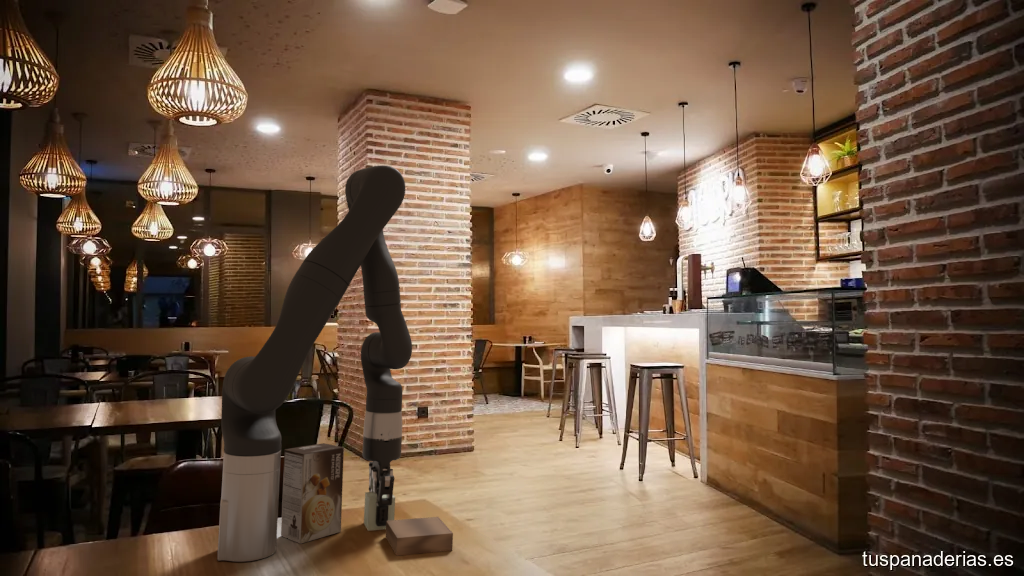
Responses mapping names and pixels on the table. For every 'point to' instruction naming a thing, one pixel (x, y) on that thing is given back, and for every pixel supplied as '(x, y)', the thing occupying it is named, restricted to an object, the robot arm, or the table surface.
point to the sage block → (371, 511)
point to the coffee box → (312, 492)
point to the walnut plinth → (418, 535)
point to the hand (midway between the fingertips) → (378, 520)
